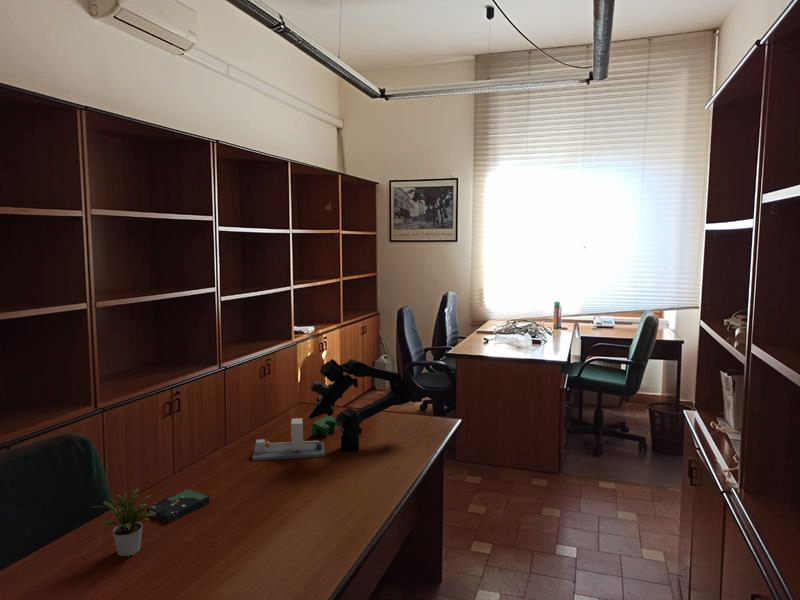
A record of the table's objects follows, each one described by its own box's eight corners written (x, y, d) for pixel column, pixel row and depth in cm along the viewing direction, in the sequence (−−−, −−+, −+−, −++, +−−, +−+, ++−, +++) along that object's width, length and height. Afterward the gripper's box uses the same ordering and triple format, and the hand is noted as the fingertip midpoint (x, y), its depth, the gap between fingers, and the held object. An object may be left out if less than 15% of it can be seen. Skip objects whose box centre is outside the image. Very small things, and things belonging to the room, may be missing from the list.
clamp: (323, 447, 234) (322, 431, 229) (311, 441, 236) (310, 425, 231) (340, 428, 243) (339, 412, 238) (328, 423, 245) (327, 407, 240)
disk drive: (170, 525, 164) (210, 503, 177) (169, 516, 163) (210, 495, 176) (146, 516, 169) (187, 495, 182) (145, 507, 168) (187, 487, 181)
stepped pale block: (303, 444, 220) (302, 418, 219) (302, 450, 214) (302, 423, 213) (292, 445, 220) (291, 418, 218) (291, 451, 214) (291, 423, 212)
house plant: (108, 577, 138) (104, 512, 136) (84, 555, 147) (80, 494, 145) (165, 552, 149) (162, 491, 147) (140, 533, 158) (137, 476, 156)
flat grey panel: (324, 444, 224) (323, 432, 224) (324, 456, 213) (324, 443, 212) (255, 448, 221) (255, 435, 220) (252, 460, 209) (251, 447, 208)
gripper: (322, 367, 224) (294, 396, 224) (323, 380, 206) (292, 411, 206) (343, 386, 226) (315, 415, 226) (346, 400, 208) (315, 431, 208)
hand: (309, 417), depth 216 cm, fingers closed
